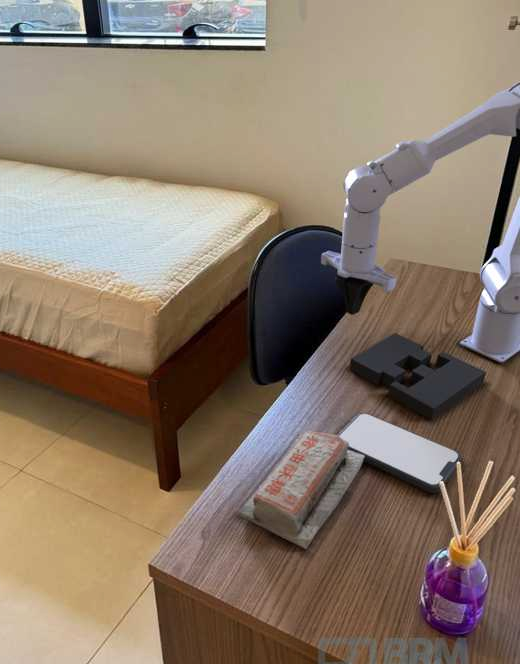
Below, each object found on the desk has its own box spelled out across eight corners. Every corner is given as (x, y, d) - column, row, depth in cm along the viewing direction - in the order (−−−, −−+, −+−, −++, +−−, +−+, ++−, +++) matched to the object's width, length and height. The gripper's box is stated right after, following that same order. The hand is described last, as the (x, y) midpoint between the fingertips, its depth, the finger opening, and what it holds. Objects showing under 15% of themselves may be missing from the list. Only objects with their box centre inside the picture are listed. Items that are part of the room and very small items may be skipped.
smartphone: (330, 448, 90) (436, 499, 80) (330, 440, 89) (438, 490, 80) (360, 417, 95) (463, 461, 86) (361, 409, 95) (465, 453, 85)
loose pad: (393, 343, 111) (395, 332, 110) (433, 363, 106) (435, 351, 104) (349, 369, 106) (350, 358, 104) (388, 391, 100) (390, 380, 99)
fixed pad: (440, 362, 106) (442, 351, 104) (483, 383, 100) (486, 371, 99) (388, 396, 99) (390, 384, 98) (431, 420, 93) (433, 408, 92)
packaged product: (308, 526, 72) (237, 492, 77) (307, 553, 75) (238, 518, 80) (367, 438, 84) (302, 413, 89) (364, 463, 87) (301, 438, 92)
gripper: (310, 235, 104) (307, 304, 111) (379, 262, 94) (371, 336, 101) (338, 224, 107) (333, 291, 115) (408, 249, 97) (397, 321, 105)
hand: (352, 311), depth 108 cm, fingers closed
